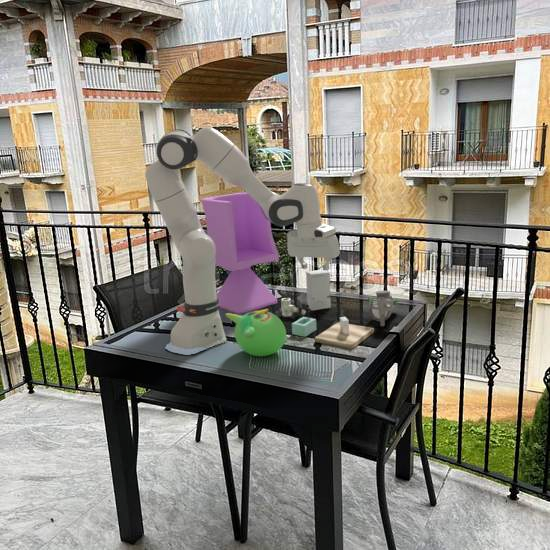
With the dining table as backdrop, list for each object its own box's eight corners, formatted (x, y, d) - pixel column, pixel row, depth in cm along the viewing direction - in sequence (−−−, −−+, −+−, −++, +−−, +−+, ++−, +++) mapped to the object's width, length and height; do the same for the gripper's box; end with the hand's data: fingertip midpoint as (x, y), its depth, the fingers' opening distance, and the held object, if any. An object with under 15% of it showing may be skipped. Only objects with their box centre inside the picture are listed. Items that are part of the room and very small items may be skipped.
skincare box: (312, 311, 210) (309, 274, 206) (307, 306, 216) (304, 271, 212) (332, 307, 212) (330, 271, 208) (326, 303, 218) (324, 268, 214)
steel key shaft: (349, 334, 180) (348, 320, 179) (343, 335, 180) (342, 321, 179) (345, 330, 184) (345, 316, 183) (340, 331, 184) (339, 317, 182)
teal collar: (305, 336, 185) (304, 325, 184) (292, 334, 188) (291, 322, 187) (316, 329, 191) (315, 318, 190) (303, 327, 194) (303, 316, 193)
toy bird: (297, 355, 171) (294, 311, 167) (249, 370, 163) (245, 324, 159) (269, 338, 186) (266, 298, 182) (225, 351, 178) (220, 309, 174)
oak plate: (352, 349, 172) (352, 344, 172) (315, 341, 180) (314, 337, 180) (374, 332, 185) (373, 328, 184) (338, 326, 193) (338, 322, 192)
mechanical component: (370, 322, 194) (369, 296, 191) (398, 325, 189) (397, 298, 186) (367, 325, 191) (366, 298, 189) (395, 328, 186) (394, 301, 183)
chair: (236, 317, 210) (225, 202, 198) (208, 304, 228) (196, 199, 216) (282, 303, 223) (274, 194, 211) (251, 292, 240) (242, 191, 228)
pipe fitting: (389, 322, 191) (388, 294, 190) (368, 321, 196) (367, 293, 194) (402, 315, 201) (401, 288, 199) (382, 314, 205) (381, 288, 204)
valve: (277, 316, 207) (299, 323, 199) (275, 300, 206) (298, 306, 197) (289, 312, 212) (311, 318, 203) (288, 296, 210) (310, 301, 201)
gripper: (280, 232, 187) (286, 270, 190) (328, 232, 173) (334, 273, 177) (292, 228, 191) (297, 265, 195) (339, 228, 178) (344, 268, 181)
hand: (315, 269), depth 186 cm, fingers open, 8 cm apart
